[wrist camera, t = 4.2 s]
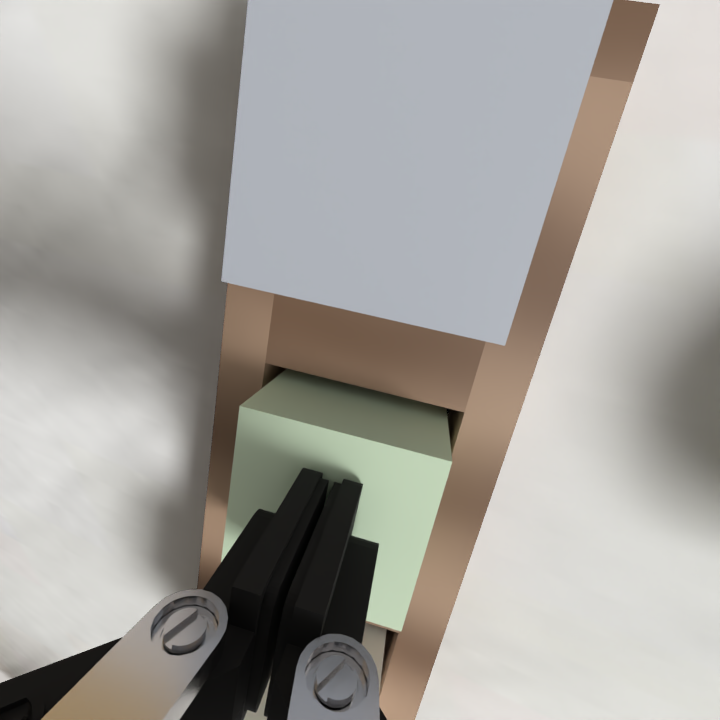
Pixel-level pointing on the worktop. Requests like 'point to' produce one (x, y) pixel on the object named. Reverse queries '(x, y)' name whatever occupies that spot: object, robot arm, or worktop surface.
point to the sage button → (347, 469)
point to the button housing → (430, 370)
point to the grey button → (404, 152)
